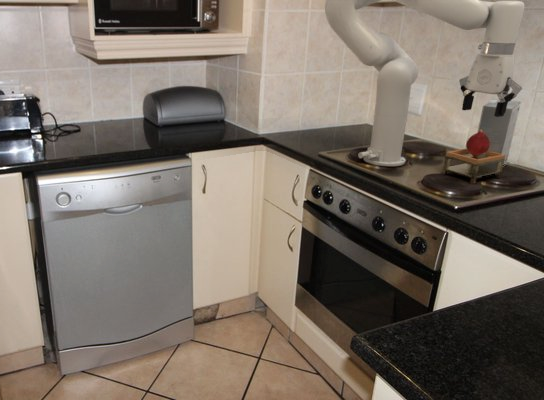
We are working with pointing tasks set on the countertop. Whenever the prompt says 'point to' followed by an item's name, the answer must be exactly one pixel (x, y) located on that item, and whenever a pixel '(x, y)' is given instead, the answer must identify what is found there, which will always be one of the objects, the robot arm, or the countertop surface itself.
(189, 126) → the countertop surface
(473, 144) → the onion
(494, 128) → the hard drive box
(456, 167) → the rack
